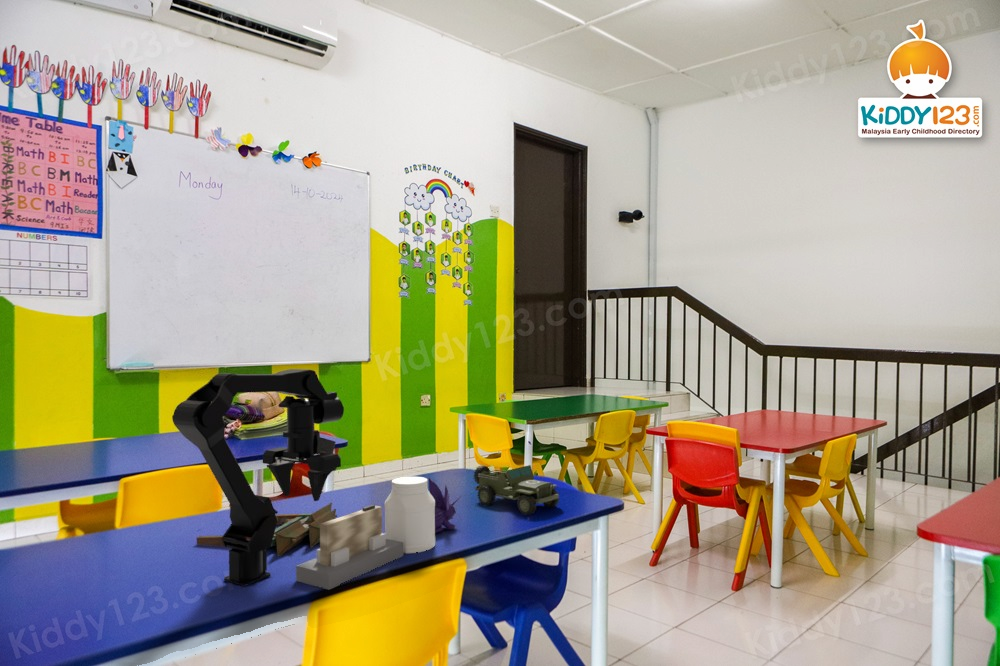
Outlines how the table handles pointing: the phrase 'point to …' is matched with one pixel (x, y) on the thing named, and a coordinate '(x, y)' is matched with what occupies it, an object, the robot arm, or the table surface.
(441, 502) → the creature
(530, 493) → the toy jeep
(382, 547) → the hinge plinth
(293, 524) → the miniature gate
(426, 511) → the jar
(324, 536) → the birch door
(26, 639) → the table surface
